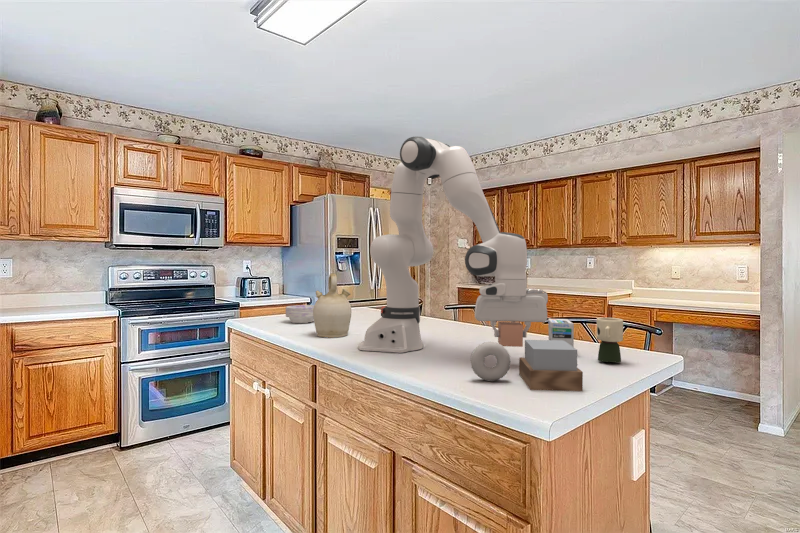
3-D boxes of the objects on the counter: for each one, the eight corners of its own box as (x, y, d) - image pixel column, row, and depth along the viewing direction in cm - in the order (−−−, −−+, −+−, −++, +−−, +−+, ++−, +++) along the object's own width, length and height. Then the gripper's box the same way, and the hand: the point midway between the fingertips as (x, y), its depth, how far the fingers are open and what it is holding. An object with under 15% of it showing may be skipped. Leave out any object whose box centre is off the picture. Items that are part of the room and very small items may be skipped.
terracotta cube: (500, 346, 126) (501, 325, 126) (498, 342, 132) (498, 321, 132) (522, 346, 126) (523, 325, 125) (518, 342, 131) (519, 322, 131)
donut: (471, 382, 112) (471, 342, 112) (469, 378, 115) (469, 340, 115) (511, 383, 111) (511, 343, 111) (509, 379, 115) (509, 340, 115)
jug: (352, 331, 188) (352, 272, 187) (350, 338, 172) (349, 273, 172) (316, 332, 187) (315, 272, 187) (310, 338, 172) (309, 273, 171)
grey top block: (533, 369, 106) (533, 348, 106) (524, 358, 118) (524, 339, 118) (577, 371, 105) (577, 349, 105) (563, 359, 117) (563, 340, 117)
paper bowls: (302, 319, 226) (302, 303, 226) (324, 321, 217) (324, 305, 217) (278, 322, 214) (278, 306, 214) (300, 325, 205) (300, 308, 205)
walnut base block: (530, 391, 106) (530, 370, 106) (519, 376, 120) (519, 357, 120) (582, 393, 105) (582, 371, 105) (565, 377, 119) (565, 358, 119)
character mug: (599, 357, 140) (599, 316, 139) (624, 360, 136) (625, 317, 136) (593, 364, 131) (593, 320, 130) (620, 367, 127) (620, 322, 126)
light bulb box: (574, 357, 140) (574, 323, 140) (551, 356, 142) (551, 322, 141) (568, 350, 151) (568, 318, 150) (547, 349, 152) (547, 318, 152)
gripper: (545, 288, 131) (544, 335, 131) (474, 287, 132) (473, 334, 133) (550, 290, 124) (549, 339, 125) (476, 289, 126) (475, 338, 126)
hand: (510, 337), depth 129 cm, fingers closed on terracotta cube, 6 cm apart
